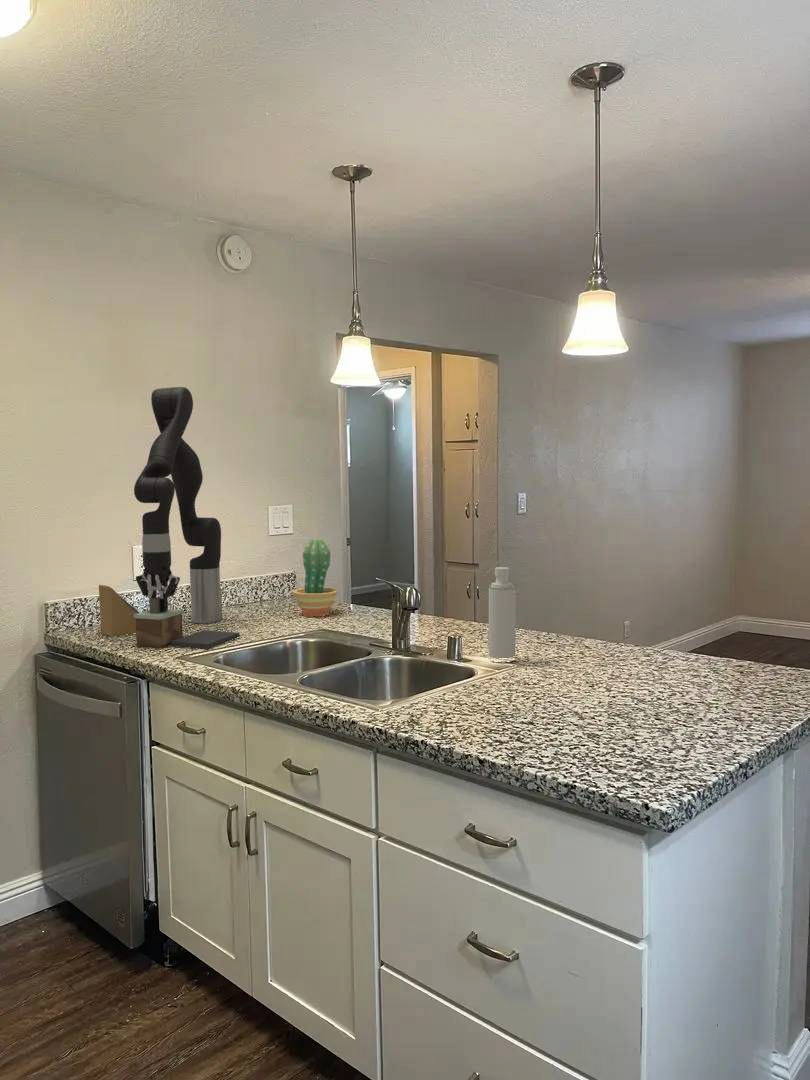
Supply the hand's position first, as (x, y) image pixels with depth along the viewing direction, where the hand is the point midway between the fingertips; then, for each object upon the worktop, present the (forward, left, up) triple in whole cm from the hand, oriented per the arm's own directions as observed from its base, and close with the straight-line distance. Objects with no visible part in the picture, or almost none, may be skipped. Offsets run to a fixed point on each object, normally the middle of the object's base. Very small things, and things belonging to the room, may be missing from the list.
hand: (158, 611), depth 228 cm
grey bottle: (-11, +95, -9) cm, 96 cm away
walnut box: (0, 0, -9) cm, 9 cm away
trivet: (-6, +11, -9) cm, 16 cm away
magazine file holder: (-12, -19, -10) cm, 24 cm away
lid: (0, 0, -1) cm, 1 cm away
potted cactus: (-55, +21, -9) cm, 60 cm away
